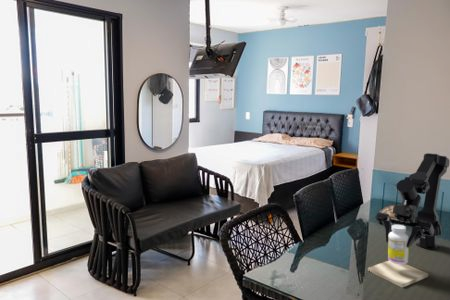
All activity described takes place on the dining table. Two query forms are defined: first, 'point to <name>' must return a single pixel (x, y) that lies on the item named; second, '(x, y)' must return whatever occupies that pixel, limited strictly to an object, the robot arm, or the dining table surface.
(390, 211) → the anatomical model
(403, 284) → the birch board
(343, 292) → the dining table surface
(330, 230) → the dining table surface
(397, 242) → the supplement bottle
